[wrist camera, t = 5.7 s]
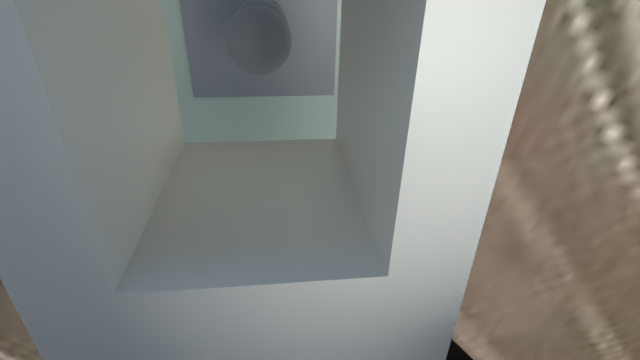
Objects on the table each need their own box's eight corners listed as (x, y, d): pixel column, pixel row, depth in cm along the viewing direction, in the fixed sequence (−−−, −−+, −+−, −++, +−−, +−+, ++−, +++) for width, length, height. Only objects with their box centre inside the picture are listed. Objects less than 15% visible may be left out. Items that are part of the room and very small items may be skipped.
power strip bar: (412, -140, 6) (628, -293, 2) (350, 437, 14) (378, 598, 10) (58, -158, 5) (-354, -396, 2) (207, 453, 13) (184, 630, 10)
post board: (486, -198, 12) (655, -324, 6) (399, 315, 22) (436, 418, 17) (-24, -235, 10) (-321, -438, 5) (147, 336, 21) (108, 455, 16)
